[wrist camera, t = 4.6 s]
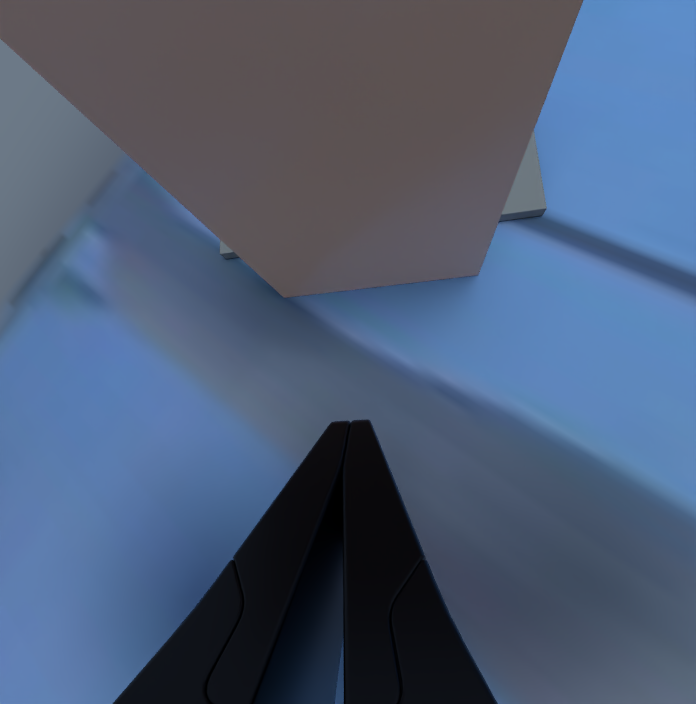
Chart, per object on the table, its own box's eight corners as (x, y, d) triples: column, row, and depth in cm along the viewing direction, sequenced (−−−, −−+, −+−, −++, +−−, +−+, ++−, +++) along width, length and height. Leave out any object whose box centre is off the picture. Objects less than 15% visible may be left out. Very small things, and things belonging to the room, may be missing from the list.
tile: (478, 275, 18) (667, -218, 4) (284, 297, 19) (-51, -9, 6) (473, 233, 18) (629, -346, 4) (282, 259, 20) (-34, -118, 6)
